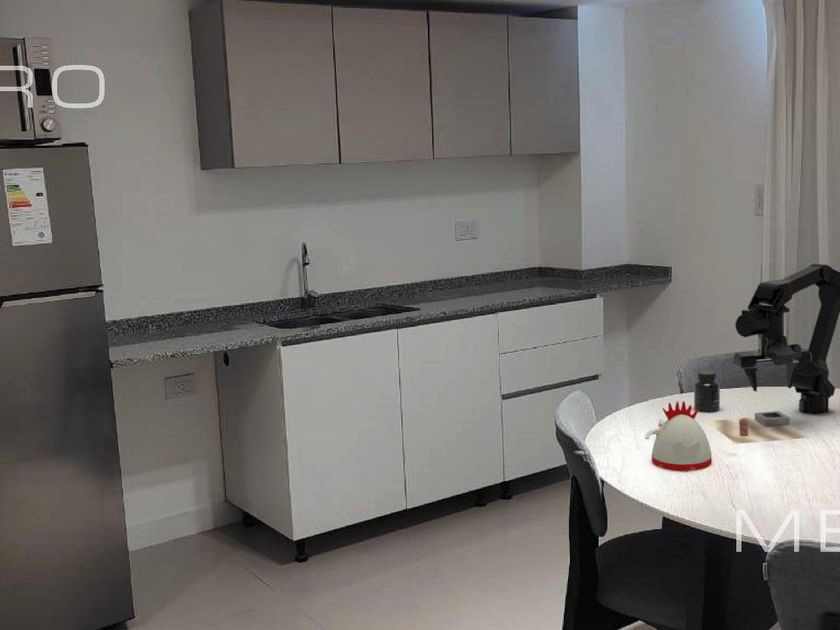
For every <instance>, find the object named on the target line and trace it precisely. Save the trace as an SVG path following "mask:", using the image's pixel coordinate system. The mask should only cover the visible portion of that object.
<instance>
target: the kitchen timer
mask: <svg viewBox="0 0 840 630" xmlns="http://www.w3.org/2000/svg"><path fill="white" fill-rule="evenodd" d="M681 403H682V404H681V408H680V404H679V401H677V400H676V404H675V408H673V406H672V404H671V402H668V410H666V408H664V407H662V411H663V412H664V414H665V416H666V418H667V419H666V420H665V421H664V423H663V424H662V425H661V427H660V426H659V427H660V429H659V431H658V433H657V434H655V435H656V436H655V439H654V443H653V447H652V451H651V462H652V464H653V465H654V466H656V467H658V468H661V469H662V470H663V469H664V470H668V471H669V470H670V471H675V472H677V471H678V472H690V471H691V472H693V471H699V470H703V469H706V468H709V467H710V466H711V465H712V449H711V445H710V443H709V440H708V437H707V434H706V432H705V430H704V429H703V427H702V426H701V425H700V424H699V422H697V420H696V419H695V418H696V417H697V415H698V410H697V409H696V410H694V411H693V413H692V414H691V412H692V407H693V406H692V405H691V404H690V405H689V406H688V407H686V402H685V401H684V400H682V402H681Z"/></svg>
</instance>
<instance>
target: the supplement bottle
mask: <svg viewBox="0 0 840 630" xmlns="http://www.w3.org/2000/svg"><path fill="white" fill-rule="evenodd" d="M716 380H717V373H716V372H715V371H713V370H712V371H711V370H700V371H697V381H695V383H694V385H693V389H694V391H693V392H694V393H693V394H694V396H693V397H694V399H693V401H694V402H693V405H694V406H693V407H694V411H695V410H696V409H697V410H698V412H699V413H707V414H710V413H716V412H719V411H720V409H721V405H720V404H721V403H720V400H721V396H720V394H721V392H720V390H721V389H720V388H721V387H720V383H719V382H718V381H716ZM698 412H697V413H698Z"/></svg>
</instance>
